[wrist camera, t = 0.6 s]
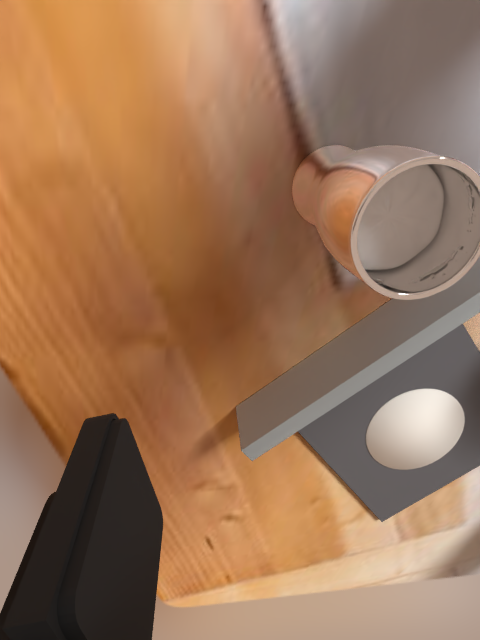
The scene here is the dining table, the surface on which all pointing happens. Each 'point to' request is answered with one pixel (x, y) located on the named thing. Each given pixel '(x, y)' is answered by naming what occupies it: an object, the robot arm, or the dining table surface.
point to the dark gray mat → (407, 427)
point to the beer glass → (393, 215)
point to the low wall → (353, 363)
